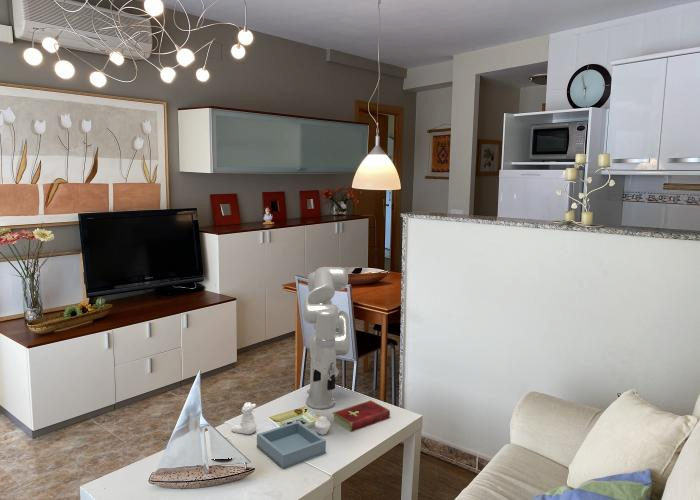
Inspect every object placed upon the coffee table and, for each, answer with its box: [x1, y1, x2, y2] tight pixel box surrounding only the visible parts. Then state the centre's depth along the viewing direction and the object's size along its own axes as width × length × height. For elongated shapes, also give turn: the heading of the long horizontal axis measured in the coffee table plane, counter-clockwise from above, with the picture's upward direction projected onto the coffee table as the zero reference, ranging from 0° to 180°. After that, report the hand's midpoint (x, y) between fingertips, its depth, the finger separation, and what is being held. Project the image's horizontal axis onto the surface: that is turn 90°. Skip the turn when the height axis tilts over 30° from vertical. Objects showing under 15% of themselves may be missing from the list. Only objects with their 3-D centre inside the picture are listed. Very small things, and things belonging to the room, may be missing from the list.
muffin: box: [314, 415, 331, 436], centre depth 209 cm, size 6×6×7 cm
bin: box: [256, 421, 327, 470], centre depth 195 cm, size 18×18×5 cm
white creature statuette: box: [230, 401, 258, 435], centre depth 208 cm, size 10×9×12 cm
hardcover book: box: [332, 399, 391, 433], centre depth 221 cm, size 12×21×4 cm, turn 129°
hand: (323, 385), depth 205 cm, fingers open, 9 cm apart
